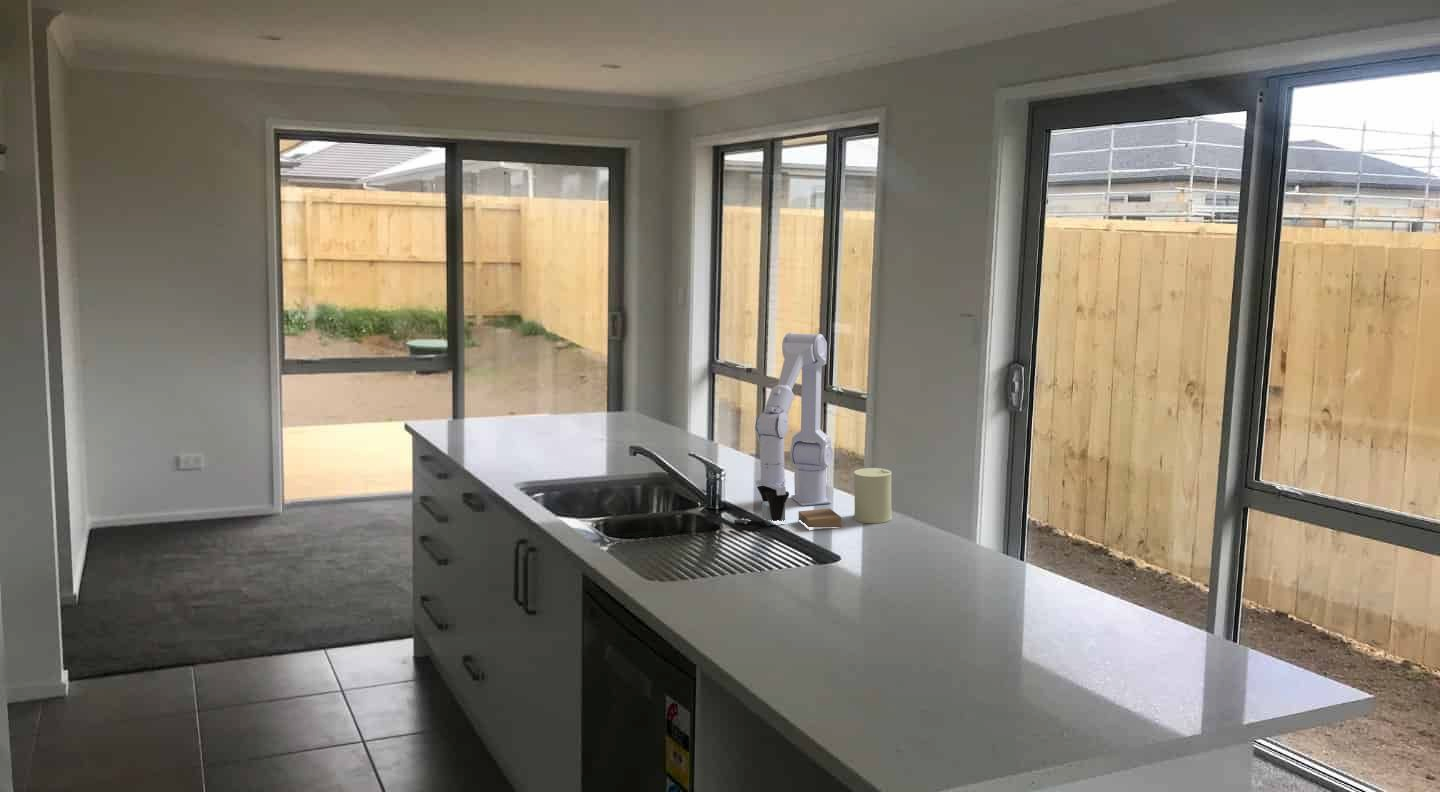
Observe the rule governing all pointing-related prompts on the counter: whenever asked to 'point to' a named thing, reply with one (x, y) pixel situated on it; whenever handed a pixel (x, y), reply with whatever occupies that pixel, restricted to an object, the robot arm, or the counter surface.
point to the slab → (820, 518)
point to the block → (766, 511)
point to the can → (872, 495)
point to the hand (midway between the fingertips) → (773, 517)
